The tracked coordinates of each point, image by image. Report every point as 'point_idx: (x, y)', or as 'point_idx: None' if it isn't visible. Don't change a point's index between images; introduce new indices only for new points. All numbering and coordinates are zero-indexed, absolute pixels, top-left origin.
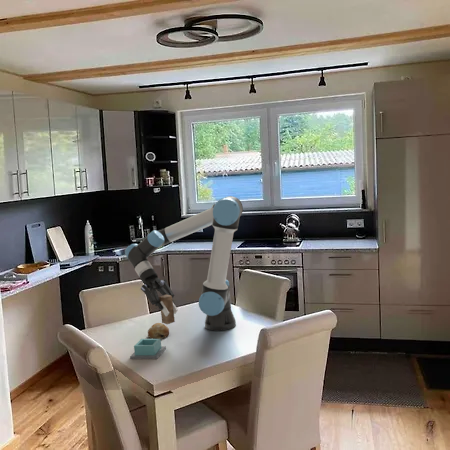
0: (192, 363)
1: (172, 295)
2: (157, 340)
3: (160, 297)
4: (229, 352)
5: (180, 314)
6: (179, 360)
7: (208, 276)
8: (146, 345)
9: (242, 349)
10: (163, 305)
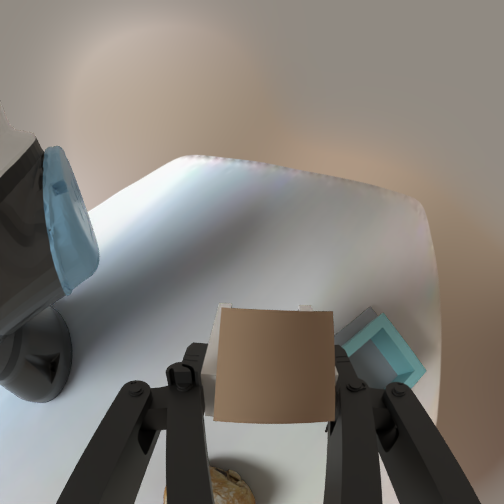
0: (314, 207)
1: (144, 391)
2: None
3: (333, 396)
4: (202, 186)
5: None
6: (327, 247)
7: None
8: (397, 340)
9: (171, 178)
10: None
